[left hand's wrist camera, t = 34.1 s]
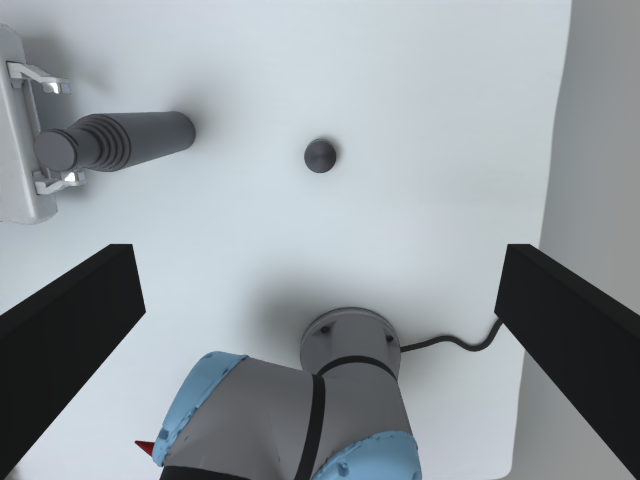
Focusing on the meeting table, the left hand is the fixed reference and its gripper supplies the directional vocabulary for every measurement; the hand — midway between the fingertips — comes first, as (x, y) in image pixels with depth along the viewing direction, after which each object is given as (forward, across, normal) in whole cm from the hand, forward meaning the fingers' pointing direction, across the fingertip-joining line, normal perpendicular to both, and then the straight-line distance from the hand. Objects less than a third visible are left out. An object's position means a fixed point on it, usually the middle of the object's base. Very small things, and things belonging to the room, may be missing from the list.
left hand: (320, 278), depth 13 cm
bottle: (+34, -18, +3) cm, 39 cm away
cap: (+32, 0, 0) cm, 32 cm away
